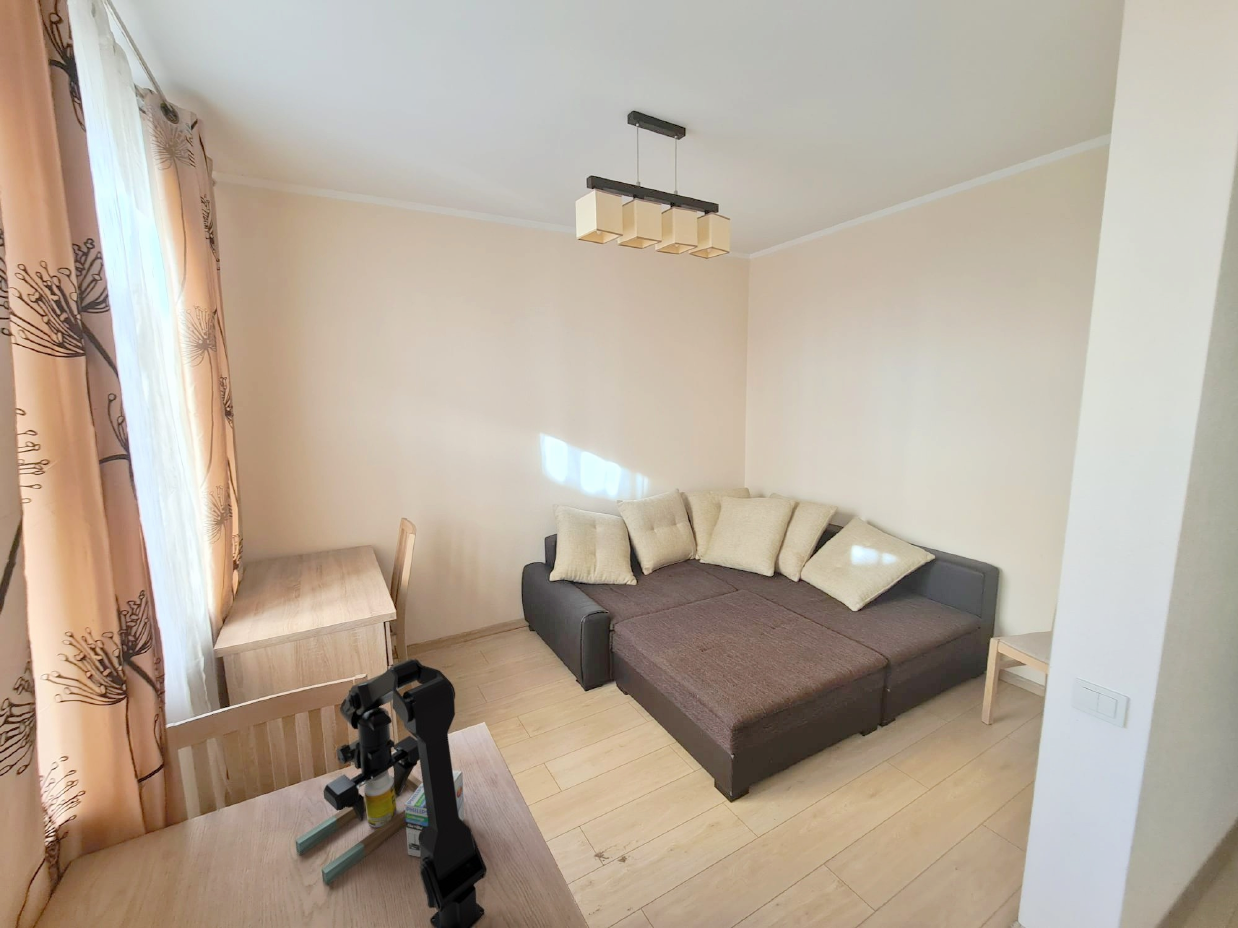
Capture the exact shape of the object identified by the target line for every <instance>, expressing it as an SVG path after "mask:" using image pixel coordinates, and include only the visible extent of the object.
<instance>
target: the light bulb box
mask: <svg viewBox="0 0 1238 928" xmlns="http://www.w3.org/2000/svg"><path fill="white" fill-rule="evenodd" d="M452 770H453V777H454V785H455V792H456V799H457V807H458V814H459V818H460V819H461V820H462V821H463V822H464V820H465V807H464V806H465V805H464V804H465V803H464V802H465V801H464V781H463V779H464V777H463V771H461V770H456V769H455V770H454V769H452ZM404 810H405V815H406V827H405V828H406V829H405V831H406V843H407V846H406V847H407V855H408V856H409V855H410V856H412V857H419V858H421V857H420V845H419V840H418V838H419V833H420V832H421V831H423V830H424V829H426V828H427V826H428V816H427V809H426V802H425V795H424V787H423V781H422V783H421V785H420V786H419V787H418V788H417V790H416V791H415V792H413V793H412V794H411V796H410V797H409V798H408V800H407V801H406V802H405V803H404Z"/></svg>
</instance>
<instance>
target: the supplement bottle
mask: <svg viewBox="0 0 1238 928" xmlns="http://www.w3.org/2000/svg"><path fill="white" fill-rule="evenodd" d="M393 777H394V776H392V775H391V774H389V769H388V770H387V771H385V772H384V773H382V774H380V775H379V776H377V777H376V778H374V779H372V780H371V781H369V782H368V783H366V784H364V787H363V793H364V795H365V803H366V812H365V813H366V819H367V823H368V824H369V826H371V827H372V828H380V827H381V826H383V825H384V824H385V823H387V822H388V821H390V820H391V819H392V818H394V817H395V816H397V811H398V810H397V800H396V794H395V789H394V780H393ZM364 795H363V796H364Z"/></svg>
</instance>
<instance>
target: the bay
mask: <svg viewBox="0 0 1238 928" xmlns="http://www.w3.org/2000/svg"><path fill="white" fill-rule="evenodd" d="M392 777H393V780H394V776H392ZM422 782H423V780H422V781H421V780H420V779H419V778H417V776H415V775H413V774H412V772H411V773H410V775H409V777H408V779H407V781H406V783H405V785H404V787H406V788H407V789H409V790H410V791H411V792H413V793H414V792H415V791H416V790H417V788H418V787H419V786H420V785H421V783H422ZM362 796H363V797H364V813H367V812H366V803H365V795H362ZM357 818H358V816H357V815H356V813H355V811H354V810H353V808H352V807H350V808H348V807H345V808H344V809H342V810H338V811H337V813H335V814H334V815H331V816H330V817H328V818H327V819H325V820H324V821H322V822H321V823H319V824H318V825H316V826H315V827H312V829H310V830H308V831H307V832H306V833H305V832H304V834H302V835H300V836H299V837H297V838H296V839H295V848H296V852H297V854H298V855H299V856H301V855H303V854H304V853H306V852H307V851H309V850H310V849H312V848H314V847H315V846H317V845H318V844H319V843H321V842H322V841H324V840H325V839H327V838H328V837H329V836H331V835H333V834H334V833H336V832H338V830H340V829H342V828H344V827H345V826H346V825H348V824H349V823H351V822H353V820H356V819H357ZM405 828H406V815H405V809H403V811H401V812H399V813H398V814H396V815H395V817H394V818H392V819H391V820H390V821H388V822H387V823H385V824H384V825H383V826H381V827H377V829H376V830H374V831H373V832H371V833H370V834H368V835H367V836H366V837H364V838H363V839H361V840H360V841H358V842H357V843H356V844H355V845H353V846H352V847H350V848H349V849H347V850H346V851H344V852H343V853H341V855H339V856H338V857H336V858H334V859H333V860H332V861H330V862H329V863H328V864H326V865H325V866H324V867H322V868H321V876H322V877H321V878H322V882H323V883H324V884H325V886H328V885H329V884H331V883H332V882H333V881H335V880H336V879H337V878H339V877H340V876H342V875H343V874H344V873H346V872H348V870H349V869H351V868H352V867H354V866H356V864H358V863H359V862H360V861H362V860H363V859H364V858H366V857H367V856H368V855H370V854H371V853H372V852H374V851H375V850H377V849H378V848H379V847H380V846H382V845H384V844H385V843H386V842H388V841H389V840H390V839H392V838H393V837H394V836H395V835H397V834H399V833H400V832H401V831H402V830H403V829H405Z"/></svg>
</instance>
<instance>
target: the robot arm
mask: <svg viewBox="0 0 1238 928" xmlns="http://www.w3.org/2000/svg"><path fill="white" fill-rule="evenodd" d="M415 682H417V683H418V684H420V685H417V686H415V687H412V688H411V689H410V688H409V690H406V691H405V692H403V695H401V693H400V692H399V690H401V689H403V688H404V687H406V686H408V685H411V684H412V683H415ZM455 700H456V691H455V687H454V685H453V683H452V682H451V681H450V680H449V679H448V677H447V676H446V675H444V674H443V673H442V671H441V670H439V669H436V668H433V667H429V666H425V665H423V664H422V663H421V662H420V661H419V660H418V659H416V658H409V659H407V660H403V661H402V662H399V663H397V664H396V663H395V664H394V665H391V666H390V667H389V668H387V670H386V671H385V672H383V673H382V674H379V675H377V676H374V677H372V678H370V679H366V680H364V681H362V682H360V683H356V684H355V685H352V686H351V688H350V689H349V690H348V695H347V696H346V697H345V698H344V699H343V700H342V702H341V705H340V707H339V713H340V715H341V717H343V718H344V720H345V721H346V722H347V723H348V725H350V727H352V728H353V730H357V732H358V739H357V740H355V741H353V742H351V743H350V744H349V743H348V744H345V743H344V744H343V745H341V746H339V747H338V748H336V755H337V760H338V762H339V764H342V765H346V764H348V763H349V764H350V763H354V768H355V769H356V770H361V771H360V773H359V774H357V775H355V776H354V777H352V778H350V777H349V776H347V775H346V774H342V775H340V776H339V777H337V778H336V779H333V780H332V781H330V782H328V783H326V785H325V786H324V788H323V799H324V800H325V801H326V802H328V803H329V805H330V806H331V807H332V808H334V809H335V811H337V812H339V811H341V810H343V809H344V808H346V807H348V808H350V807H352V808H353V810H354V811H355V813H356V815H357V816H358V817H357V818H358V820H359V821H360V822H363V821H364V818H365V812H364V797H363V796H364V795H362V794H361V793H360V788H361V787H363V786H365V784H366V783H368V782H369V781H371V780H372V779H374V778H376V777H377V776H379V775H380V774H382V773H384V772H385V771H387V770H388V771H389V769H391V768H393V777H394V789H395V796H396V797H400V796H401V794H402V792H403V789H404V787H405V786H404V785H405V783H406V781H407V779H408V777H409V775H410V773H411V774H412V771H413V770H414V768H415V767H416V766H417V765H418V762H419V765H420V771H421V777H422V778H421V779H422V782H423V787H424V795H425V802H426V809H427V816H428V826H427V828H426V829H424V830H423V831H421V832H420V833H419V838H418V840H419V845H420V857H419V858H421V861H420V862H419V871H420V872H419V875H420V878H421V881H422V885H423V886H422V887H423V891H424V893H425V895H426V900H427V901H426V902H427V907H429V909H436V910H437V911H436V912H435V913H434V914H433V915H432V916H431V917H430V919H429V920H430V921H429V922H430V924H431V925H432V926H433V928H472V927H473V926H474V925H475V924H476V923H477V922H478V921H479V920H480V919H481V918H482V917H483V916H484V915H485V909H484V908H483V907H482V906H481V905H480V904H479V903H477V890H476V889H477V887H476V886H475V885H476V884H477V883H478V882H479V881H481V880H482V879H484V878H485V877H486V875H487V870H488V868H487V866H486V863H485V861H484V859H483V856H482V854H481V851H480V849H479V846H478V844H477V842H476V839H475V837H474V834H473V833H472V829H471V827H470V826H469V825H467V824H466V823H465V822H464V820H463V821H462V820H461V819H460V818H459V814H458V807H457V799H456V792H455V785H454V777H453V770H454V769H453V764H452V758H451V757H452V756H451V750H450V749H451V748H450V742H449V741H450V740H449V734H448V733H449V731H450V728H451V725H452V723H453V720H454V718H455V715H456V705H455V703H456V702H455ZM390 702H392V709H393V711H394V712H395V713H396V715H397V716H398V717H399V719H401V721H402V723H403V727H404V728H405V729H406V730H407V731H408V732H409V733H410V734H411V735H408V736H406V737H405V738H403V739H402V740H400V741H398V742H397V743H395V741H394V740H392V739H391V728H390V726H391V725H390V724H392V722H393V721H392V719H391V716H390V713H389V711H388V710H387V709H386V708H384V707H382V706H384V705H387V704H388V703H390ZM392 748H393V752H392Z"/></svg>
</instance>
